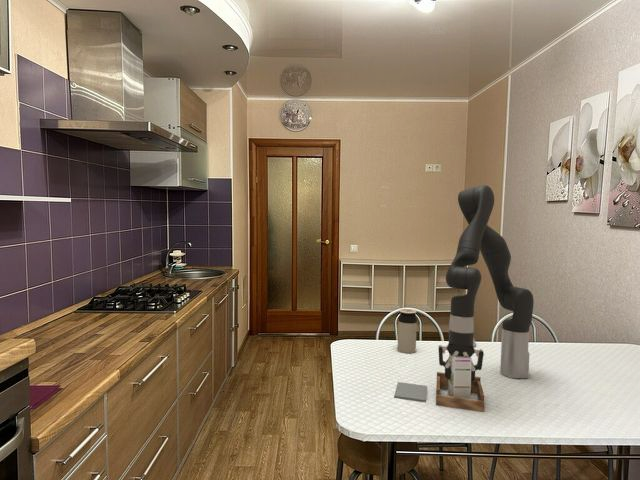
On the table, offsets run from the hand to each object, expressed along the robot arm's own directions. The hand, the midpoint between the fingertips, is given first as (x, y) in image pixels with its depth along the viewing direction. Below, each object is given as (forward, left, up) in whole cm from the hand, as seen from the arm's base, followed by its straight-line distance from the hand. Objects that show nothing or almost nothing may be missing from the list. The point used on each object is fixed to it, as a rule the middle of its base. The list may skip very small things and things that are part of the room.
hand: (459, 379), depth 130 cm
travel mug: (+20, -45, -6) cm, 50 cm away
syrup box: (0, 0, -6) cm, 6 cm away
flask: (-7, -64, -6) cm, 65 cm away
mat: (+15, 0, -6) cm, 16 cm away
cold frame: (0, 0, -6) cm, 6 cm away
